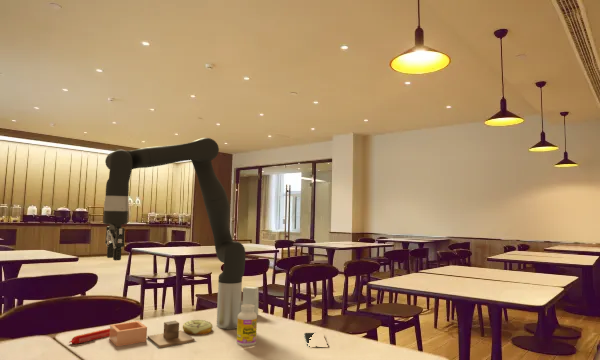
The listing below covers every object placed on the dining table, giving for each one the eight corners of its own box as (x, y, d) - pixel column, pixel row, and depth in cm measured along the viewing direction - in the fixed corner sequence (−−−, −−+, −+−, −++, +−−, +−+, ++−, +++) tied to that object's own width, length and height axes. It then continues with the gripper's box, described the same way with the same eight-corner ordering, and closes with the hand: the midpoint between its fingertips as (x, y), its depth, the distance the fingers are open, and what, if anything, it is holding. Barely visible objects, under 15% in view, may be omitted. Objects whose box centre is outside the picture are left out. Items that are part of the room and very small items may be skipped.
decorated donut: (195, 338, 141) (196, 327, 142) (176, 332, 147) (177, 322, 148) (217, 331, 150) (218, 321, 150) (198, 326, 156) (199, 316, 156)
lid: (180, 332, 146) (181, 316, 146) (194, 341, 136) (195, 323, 137) (147, 338, 138) (148, 321, 139) (159, 347, 129) (160, 329, 129)
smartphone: (307, 346, 134) (303, 332, 149) (307, 349, 134) (303, 335, 149) (329, 346, 134) (323, 332, 149) (329, 349, 134) (323, 335, 149)
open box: (137, 335, 143) (138, 320, 143) (146, 342, 135) (147, 327, 136) (109, 339, 137) (110, 325, 137) (116, 347, 129) (117, 331, 130)
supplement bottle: (240, 348, 132) (241, 308, 133) (233, 342, 138) (235, 304, 139) (259, 345, 135) (260, 306, 136) (252, 339, 141) (253, 302, 142)
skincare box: (258, 314, 176) (259, 286, 177) (255, 317, 172) (256, 288, 173) (245, 313, 177) (246, 285, 178) (241, 316, 173) (242, 287, 174)
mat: (181, 333, 146) (181, 332, 146) (196, 342, 136) (196, 341, 136) (145, 339, 138) (145, 338, 138) (158, 349, 128) (158, 348, 128)
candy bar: (113, 333, 145) (114, 325, 145) (119, 335, 143) (119, 327, 143) (67, 344, 132) (68, 335, 132) (73, 347, 130) (73, 337, 130)
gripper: (134, 210, 130) (131, 260, 128) (122, 209, 141) (119, 256, 140) (109, 209, 125) (106, 262, 124) (99, 209, 136) (96, 257, 135)
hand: (113, 258), depth 132 cm, fingers open, 8 cm apart
